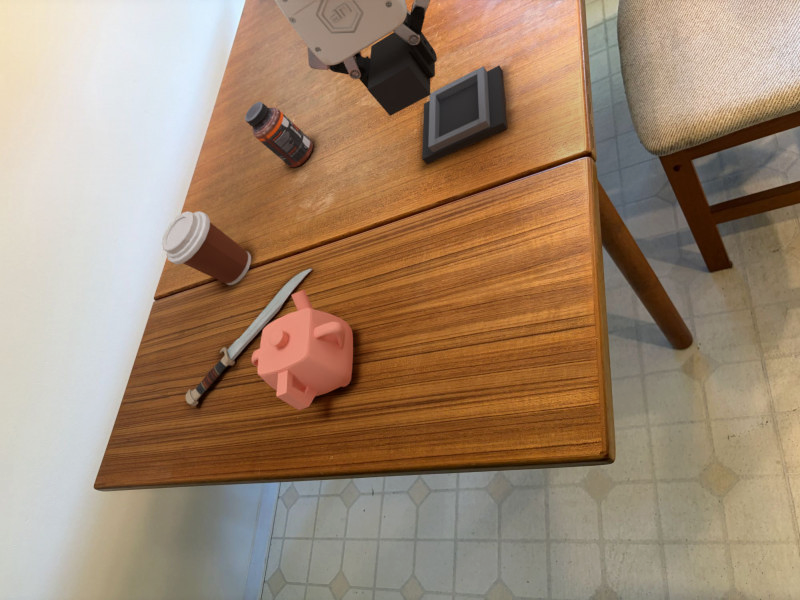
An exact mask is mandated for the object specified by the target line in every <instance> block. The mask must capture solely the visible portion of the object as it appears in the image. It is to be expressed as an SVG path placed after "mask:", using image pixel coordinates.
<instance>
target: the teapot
mask: <svg viewBox="0 0 800 600" xmlns="http://www.w3.org/2000/svg"><path fill="white" fill-rule="evenodd" d="M290 295H291V298H292V300H293V303H294V305H295V307H296V311H292V312H290V313H286V314H285V315H283V316H280V317H279V318H277V319H274V320H272V321H271V322H269V323H267V324H266V325H265V326H264V327H263V328H262V332H261V336H260V345H259V348H258V349H256V350H254V351H253V352H252V355H251V363H252V365H253V366H254V367H256V368H257V375H258V376H259V377H260V378H261V379H262V380H263V381H264V382H265V383H266V384H267V385H269V387H271V389H273V390H275V391H276V397H277V398H278V399H279V400H281V401H283V402H285V403H286V404H288V405H289V406H291V407H293V408H294V409H296V410H298V411H300V410H303V409H306V408H309V407H310V406H311V404H312V402H313V400H314V399H315V397H319V396H322V395H325V394H328V393H330V392H333V391H334V390H336V389H339V388H344V387H345V388H346V387H347V386H348V385H349V384H350V382H351V381H352V373H353V365H354V335H353V329H352V327H351V326H350V325H349V324H348V322H347V321H346V320H344V319H342V318H340V317H338V316H336V315H334V314H332V313H329V312H326V311H322V310H318V309H316V308H314V307H313V304H312V302H311V301H310V298H309V296H308V293H307V291H306V290H305V289H301V290H298V291H297V292H294V293H291V294H290Z"/></svg>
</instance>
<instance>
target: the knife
mask: <svg viewBox="0 0 800 600" xmlns="http://www.w3.org/2000/svg"><path fill="white" fill-rule="evenodd" d="M312 270H313V268H308V269H305V270H303V271H301V272H300V273H298V274H295V275H294V276H293V277H292V278H291V279H290V280H289V281H288V282H286V283H285V285H284V286H282V287H281V289H280V290H279V291H278V292H277V294H275V296H274V297H273V299H271V301H269V303H268V304H267V306H266V307H265V308H264V309H263V310H262V311H261V312H260V314H259V315H258V316H257V317H256V318H255V319H254V321H252V323H251V324H250V325H249V326H248V327H247V329H246V330H245V331H244V332H243V333H242V334H241V335H240V337H239V338H237V339H236V340H234V342H233V343H232V344H231V345H230V346H229V347H228V348H227V347H225V346H224V347H222V348H220V350H219V354H222V353H223V354H224V356H223V357H222V358H221V359H220V360H219V361H218V362H217V363H216V364H215V365H214V366H213V367H212V368H211V369H210V370H209V371H208V373H207V374H206V375H205V376H204V378H202V380H201V381H200V382H199V384H198V385H197V386H196V388H194V389H191V388H189V389H188V390H187V392H186V393H185V401H186V403H187V404H188V405H190V406H192V407H196V406H197V405H198V404H199V399H200V398H201V397H202V396H203V395H204V394H205V393H206V392H207V390H209V388H211V386H212V385H213V384H214V383H215V382H216V381H217V379H218V378H219V377H220V376H221V374H222V373H223V372H224V371H225V369H226V368H227V367H228V366H231V367H233V366H234V365H235V363H236V360H235V359H236V358H237V357H238V356H239V355H240V354H241V353H242V351H243V350H244V349H245V348H246V347H247V346H248V345H249V343H251V342H252V341H253V339H254V338H255V337H256V336H257V335H258V334H259V333H260V332H261V330H263V329H264V328H265V327H266V326H267V325H268V324H269V323H270V321H271V320H272V319H273V317H275V315H276V314H277V313H278V312H279V311H280V310H281V308H282V307H283V306H284V304H285V301H287V299H288V298H289V296H290V295H291V294H292V293H293V291H294V290H295V289H296V288H297V287H298V285H299V284H300V283H301V282H302V281H303V280H304V279H305V278H306V276H307V275H308V274H309V273H310V272H311V271H312Z"/></svg>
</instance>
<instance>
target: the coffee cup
mask: <svg viewBox="0 0 800 600" xmlns="http://www.w3.org/2000/svg"><path fill="white" fill-rule="evenodd" d="M161 246H162V250H163V251H165V253H166V258H167V260H168V261H169V262H171V263H172V264H174V265H176V266H178V265H182V264H184V265H185V266H188V267H190V268H192V269H194V270H197V271H198V272H200V273H203V274H205V275H207V276H209V277H211V278H213V279H215V280H217V281H220V282H222V283H224V284H226V285H228V286H233V285H236V284H237V283H239V282H240V281H241V280H242V279H243V278H244V277H245V276H246V274H247V273H248V271H249V269H250V266H251V263H252V255H251V253H250V252H249V251H248V250H247V249H245V248H244V247H242V246H241V245H240V244H238V243H237V242H236V241H235V240H233V239H232V238H231V237H230V236H228V234H226V233H225V232H223V231H222V230H220V228H218V227H217V226H216V225H215V224H213V223H212V222H211V219H210V217H209V215H208V214H207V213H205V212H202V211H200V210H199V211H196V212H192V211H187V210H186V211H184V212H181V213H179V215H176V216H175V218H174V219H173V220H172V221H171V222H170V224H169V226H167V228H166V229H165V232H164V234H163V237H162V240H161Z"/></svg>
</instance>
